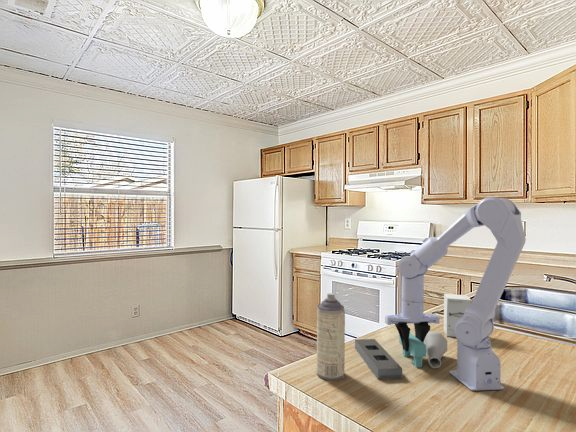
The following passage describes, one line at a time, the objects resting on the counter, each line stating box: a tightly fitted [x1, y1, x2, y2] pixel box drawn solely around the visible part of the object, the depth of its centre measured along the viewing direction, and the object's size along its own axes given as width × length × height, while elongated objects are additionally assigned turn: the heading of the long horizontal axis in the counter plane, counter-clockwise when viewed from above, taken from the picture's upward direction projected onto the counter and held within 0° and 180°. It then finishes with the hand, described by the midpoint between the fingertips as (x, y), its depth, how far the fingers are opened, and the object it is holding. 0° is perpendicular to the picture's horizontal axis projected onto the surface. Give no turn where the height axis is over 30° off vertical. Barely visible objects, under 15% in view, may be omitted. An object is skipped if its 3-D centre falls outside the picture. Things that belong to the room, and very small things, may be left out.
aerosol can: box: [316, 292, 346, 381], centre depth 89 cm, size 7×7×20 cm
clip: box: [398, 332, 427, 368], centre depth 98 cm, size 10×3×6 cm, turn 5°
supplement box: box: [443, 293, 472, 338], centre depth 119 cm, size 7×7×13 cm
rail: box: [354, 338, 403, 380], centre depth 97 cm, size 20×6×2 cm, turn 5°
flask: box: [423, 331, 448, 369], centre depth 97 cm, size 7×7×10 cm
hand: (411, 349), depth 98 cm, fingers closed on clip, 3 cm apart
